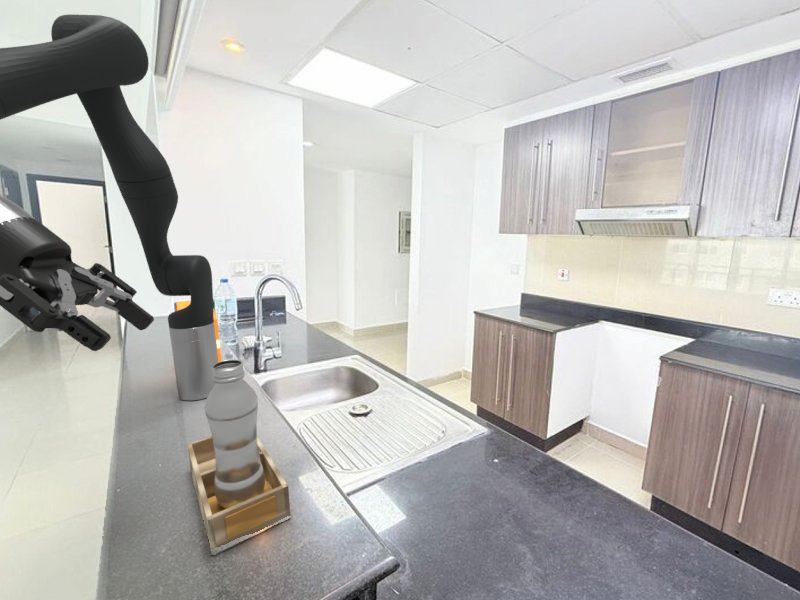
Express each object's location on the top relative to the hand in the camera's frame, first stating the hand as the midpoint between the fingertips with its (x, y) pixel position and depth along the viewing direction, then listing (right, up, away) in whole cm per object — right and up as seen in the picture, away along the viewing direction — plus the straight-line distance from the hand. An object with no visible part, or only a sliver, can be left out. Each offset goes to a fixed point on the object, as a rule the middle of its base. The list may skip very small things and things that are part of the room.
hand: (128, 334), depth 43 cm
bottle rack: (+9, -25, +10) cm, 28 cm away
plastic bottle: (+11, -24, +7) cm, 27 cm away
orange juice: (-24, -16, +60) cm, 66 cm away
